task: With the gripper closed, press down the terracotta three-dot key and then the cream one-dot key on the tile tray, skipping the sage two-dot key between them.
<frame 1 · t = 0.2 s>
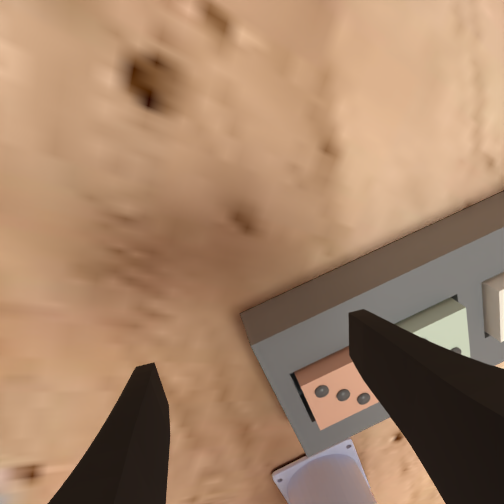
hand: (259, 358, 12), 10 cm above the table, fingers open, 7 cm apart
tile three: (337, 384, 22), point 4 cm above the table, slide at 0.0 cm
tile tray: (395, 311, 25), on the table
tile two: (428, 340, 22), point 4 cm above the table, slide at 0.0 cm
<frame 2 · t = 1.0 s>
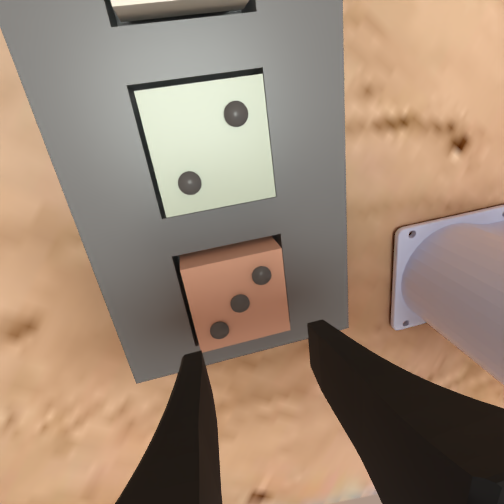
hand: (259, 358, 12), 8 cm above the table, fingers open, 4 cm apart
tile three: (236, 294, 16), point 4 cm above the table, slide at 0.0 cm
tile tray: (203, 141, 16), on the table
tile two: (210, 147, 13), point 4 cm above the table, slide at 0.0 cm
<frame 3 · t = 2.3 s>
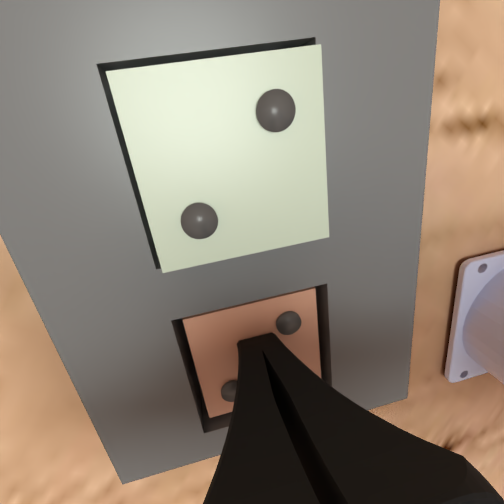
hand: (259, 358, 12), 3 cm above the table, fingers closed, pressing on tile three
tile three: (254, 342, 12), point 2 cm above the table, slide at 1.3 cm, touching gripper
tile tray: (215, 150, 12), on the table
tile two: (230, 163, 8), point 4 cm above the table, slide at 0.0 cm
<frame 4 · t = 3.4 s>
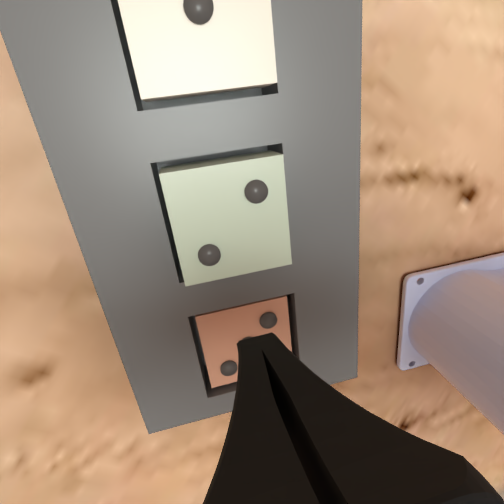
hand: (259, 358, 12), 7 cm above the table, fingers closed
tile one: (196, 15, 11), point 4 cm above the table, slide at 0.0 cm
tile three: (244, 334, 17), point 2 cm above the table, slide at 1.3 cm
tile tray: (218, 198, 17), on the table
tile two: (228, 217, 13), point 4 cm above the table, slide at 0.0 cm
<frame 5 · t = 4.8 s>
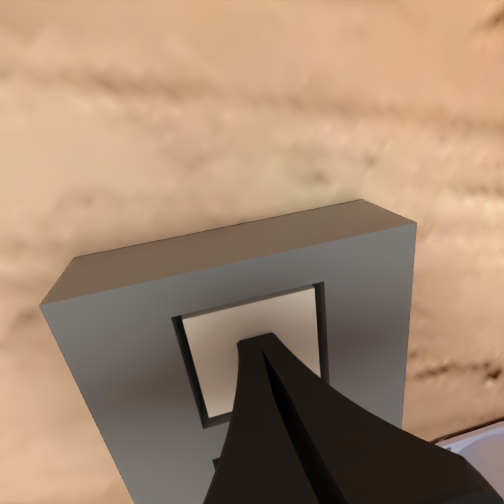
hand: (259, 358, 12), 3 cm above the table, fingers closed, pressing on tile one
tile one: (254, 342, 13), point 2 cm above the table, slide at 1.2 cm, touching gripper
tile tray: (261, 415, 18), on the table
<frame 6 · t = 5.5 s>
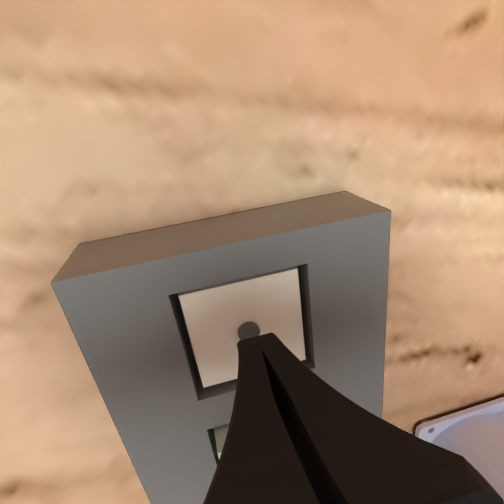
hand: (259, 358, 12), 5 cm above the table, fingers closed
tile one: (244, 319, 14), point 2 cm above the table, slide at 1.3 cm
tile tray: (253, 394, 19), on the table
tile two: (270, 453, 15), point 4 cm above the table, slide at 0.0 cm
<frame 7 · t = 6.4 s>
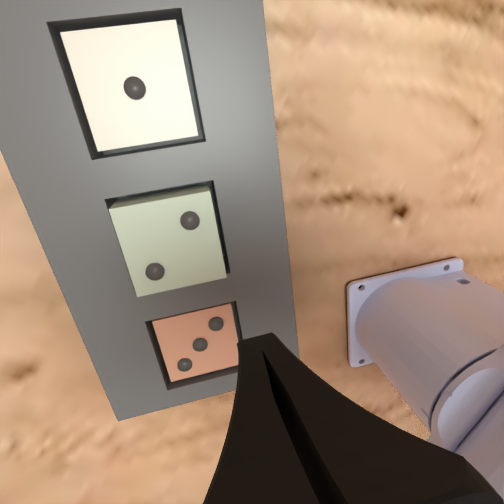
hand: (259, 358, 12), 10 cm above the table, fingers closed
tile one: (137, 90, 15), point 2 cm above the table, slide at 1.3 cm
tile three: (199, 335, 20), point 2 cm above the table, slide at 1.3 cm
tile tray: (174, 220, 20), on the table
tile two: (172, 240, 16), point 4 cm above the table, slide at 0.0 cm
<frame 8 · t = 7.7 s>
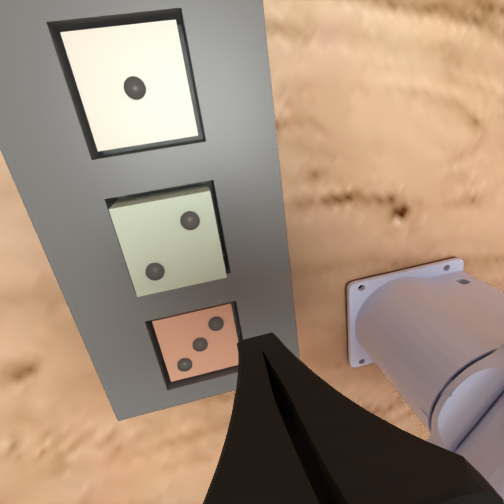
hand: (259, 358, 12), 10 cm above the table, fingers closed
tile one: (137, 90, 15), point 2 cm above the table, slide at 1.3 cm
tile three: (199, 335, 20), point 2 cm above the table, slide at 1.3 cm
tile tray: (174, 220, 20), on the table
tile two: (172, 240, 16), point 4 cm above the table, slide at 0.0 cm
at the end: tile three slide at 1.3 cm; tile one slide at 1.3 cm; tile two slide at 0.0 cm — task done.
